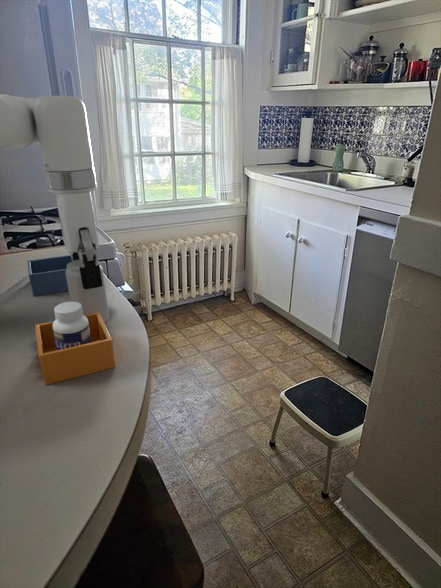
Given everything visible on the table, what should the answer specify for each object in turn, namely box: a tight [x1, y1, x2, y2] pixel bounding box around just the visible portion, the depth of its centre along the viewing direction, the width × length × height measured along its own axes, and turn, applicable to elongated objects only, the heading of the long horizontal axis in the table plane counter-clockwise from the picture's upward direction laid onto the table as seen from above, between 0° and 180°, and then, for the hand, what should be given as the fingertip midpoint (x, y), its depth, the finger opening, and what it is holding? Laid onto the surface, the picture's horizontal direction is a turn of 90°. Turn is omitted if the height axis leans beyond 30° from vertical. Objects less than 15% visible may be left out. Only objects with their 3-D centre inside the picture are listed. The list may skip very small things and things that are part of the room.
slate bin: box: [26, 254, 73, 297], centre depth 90 cm, size 10×10×5 cm
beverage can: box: [65, 260, 110, 324], centre depth 72 cm, size 6×6×12 cm
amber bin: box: [34, 312, 116, 386], centre depth 62 cm, size 10×10×5 cm
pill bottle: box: [53, 301, 91, 350], centre depth 61 cm, size 5×5×9 cm
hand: (88, 278), depth 71 cm, fingers open, 9 cm apart
